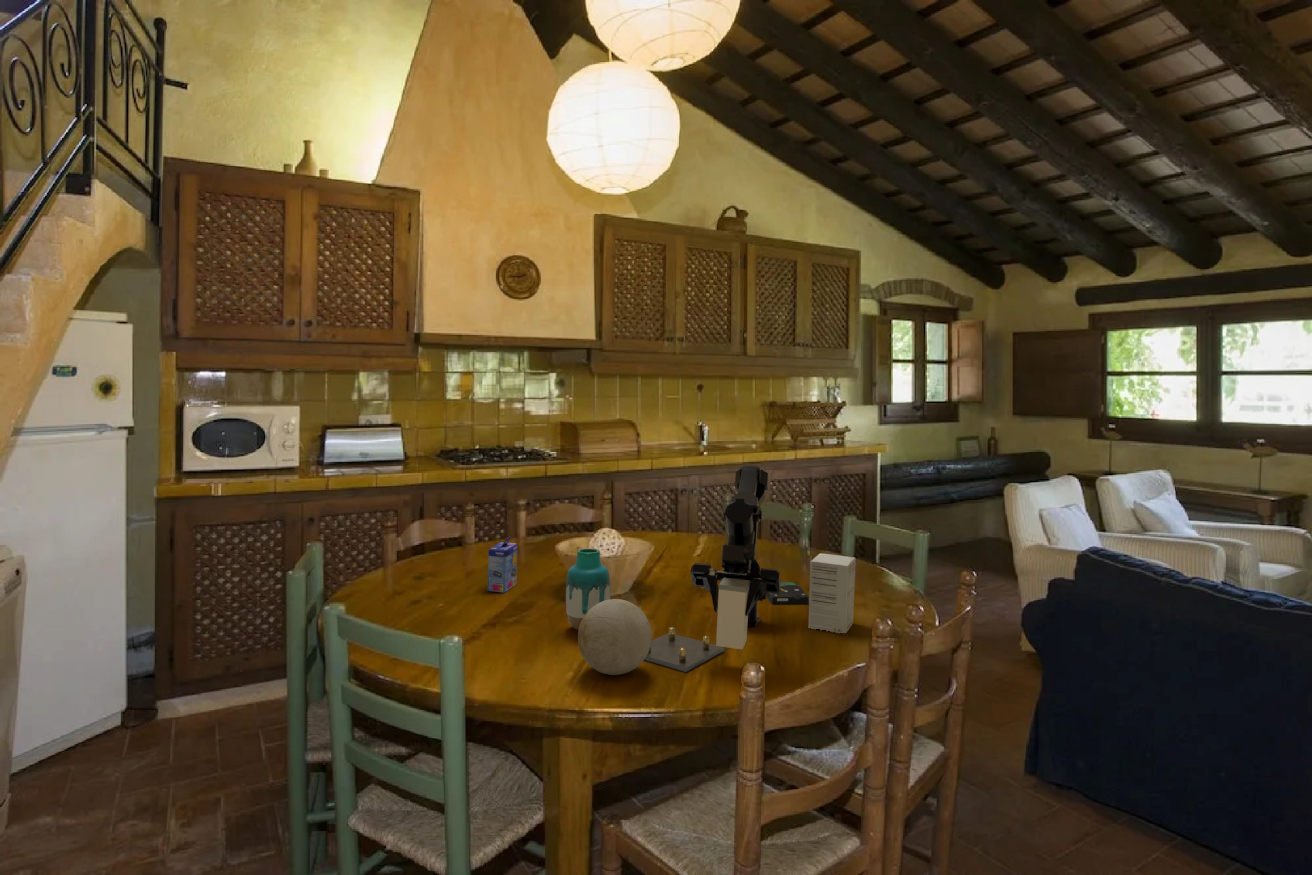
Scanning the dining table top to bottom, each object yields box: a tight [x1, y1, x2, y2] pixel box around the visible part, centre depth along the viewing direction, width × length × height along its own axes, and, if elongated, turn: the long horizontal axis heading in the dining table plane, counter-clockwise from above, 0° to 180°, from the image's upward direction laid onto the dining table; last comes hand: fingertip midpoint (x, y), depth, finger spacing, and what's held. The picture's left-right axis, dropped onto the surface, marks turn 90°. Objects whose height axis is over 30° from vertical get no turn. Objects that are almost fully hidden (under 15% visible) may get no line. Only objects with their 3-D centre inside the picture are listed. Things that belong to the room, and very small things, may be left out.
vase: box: [565, 547, 611, 631], centre depth 180 cm, size 11×11×19 cm
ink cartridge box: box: [487, 536, 518, 594], centre depth 214 cm, size 10×6×14 cm, turn 170°
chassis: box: [643, 626, 725, 673], centre depth 166 cm, size 15×15×4 cm
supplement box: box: [807, 553, 856, 634], centre depth 185 cm, size 10×9×17 cm
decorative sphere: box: [577, 598, 652, 676], centre depth 154 cm, size 15×15×15 cm
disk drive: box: [766, 581, 809, 606], centre depth 210 cm, size 10×3×15 cm
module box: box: [715, 577, 750, 650], centre depth 157 cm, size 6×6×13 cm
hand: (730, 613), depth 156 cm, fingers closed on module box, 6 cm apart
